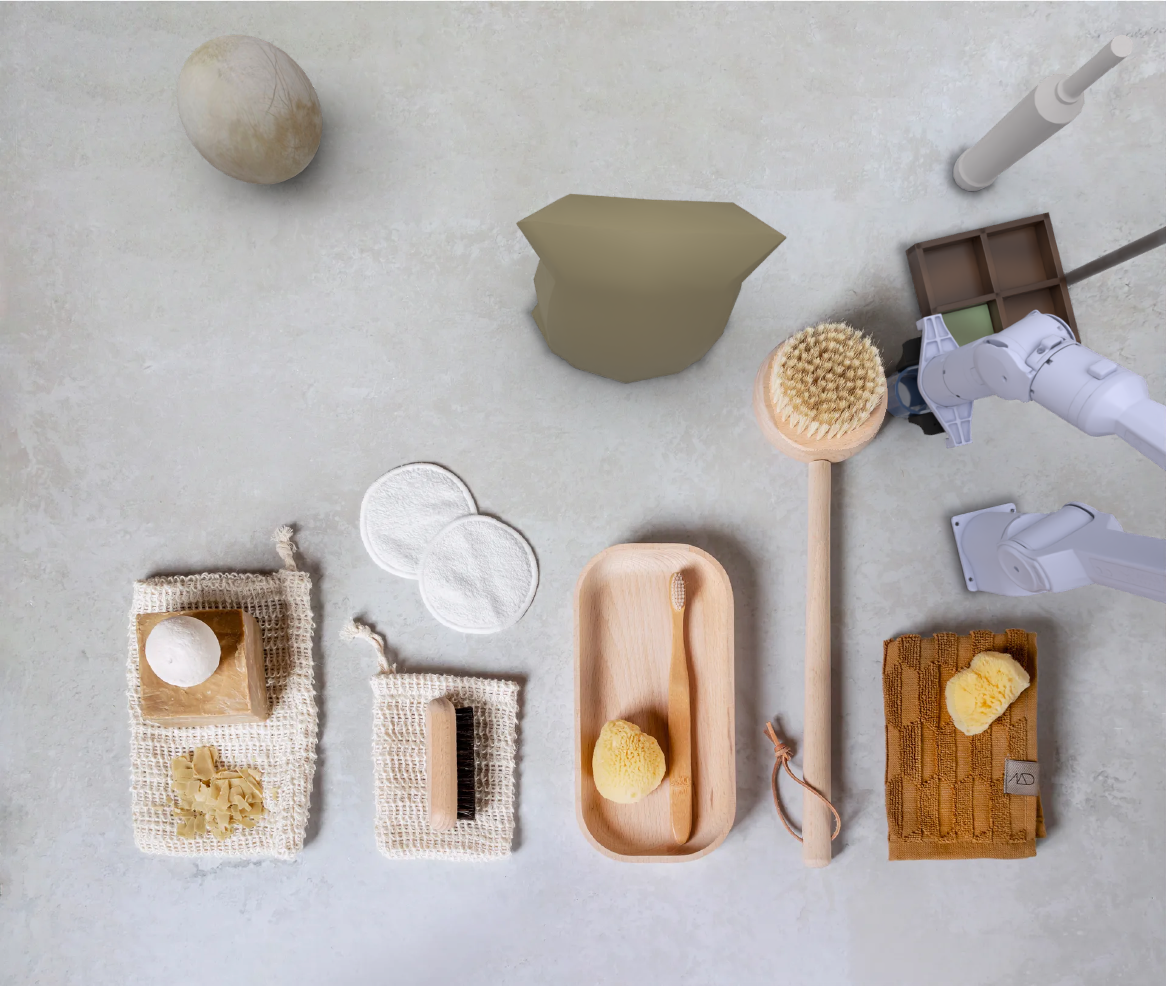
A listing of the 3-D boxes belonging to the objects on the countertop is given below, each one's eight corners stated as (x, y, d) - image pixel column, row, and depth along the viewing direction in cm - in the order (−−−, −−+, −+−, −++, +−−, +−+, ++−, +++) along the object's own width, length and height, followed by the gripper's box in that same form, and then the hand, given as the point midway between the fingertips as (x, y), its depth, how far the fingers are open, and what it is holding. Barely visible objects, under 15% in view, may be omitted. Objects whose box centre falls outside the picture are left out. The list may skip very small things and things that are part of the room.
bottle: (1000, 166, 90) (1161, 37, 65) (978, 201, 90) (1131, 85, 65) (965, 143, 90) (1112, 6, 65) (943, 178, 90) (1082, 54, 65)
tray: (1083, 347, 90) (1258, 293, 67) (937, 381, 90) (1061, 339, 67) (1051, 216, 90) (1213, 117, 67) (905, 250, 90) (1017, 163, 67)
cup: (931, 412, 90) (949, 407, 85) (885, 423, 90) (901, 419, 85) (920, 366, 90) (938, 359, 85) (873, 377, 90) (889, 371, 85)
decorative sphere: (266, 61, 90) (203, -28, 75) (364, 132, 90) (321, 57, 75) (194, 158, 90) (117, 89, 75) (292, 229, 90) (235, 174, 75)
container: (727, 257, 90) (801, 133, 60) (720, 392, 90) (792, 336, 60) (534, 246, 90) (512, 118, 60) (527, 382, 90) (501, 321, 60)
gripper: (1024, 432, 74) (956, 443, 88) (991, 295, 75) (927, 327, 88) (958, 448, 74) (899, 456, 88) (924, 311, 74) (871, 340, 88)
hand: (909, 393), depth 88 cm, fingers closed on cup, 6 cm apart
